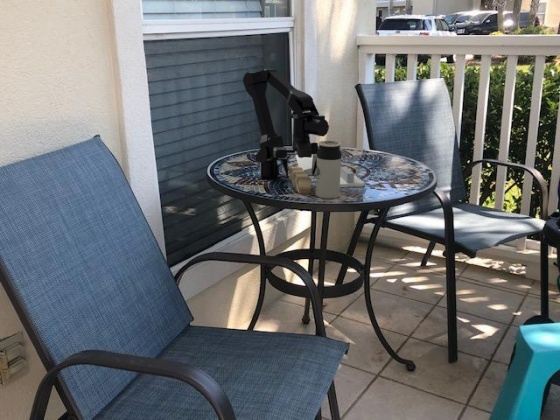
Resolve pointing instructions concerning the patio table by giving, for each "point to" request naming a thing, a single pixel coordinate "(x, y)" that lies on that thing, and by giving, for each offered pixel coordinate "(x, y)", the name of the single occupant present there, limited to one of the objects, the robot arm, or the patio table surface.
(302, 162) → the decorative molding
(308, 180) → the oak bar
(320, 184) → the travel mug
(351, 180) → the fulcrum stand
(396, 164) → the patio table surface
